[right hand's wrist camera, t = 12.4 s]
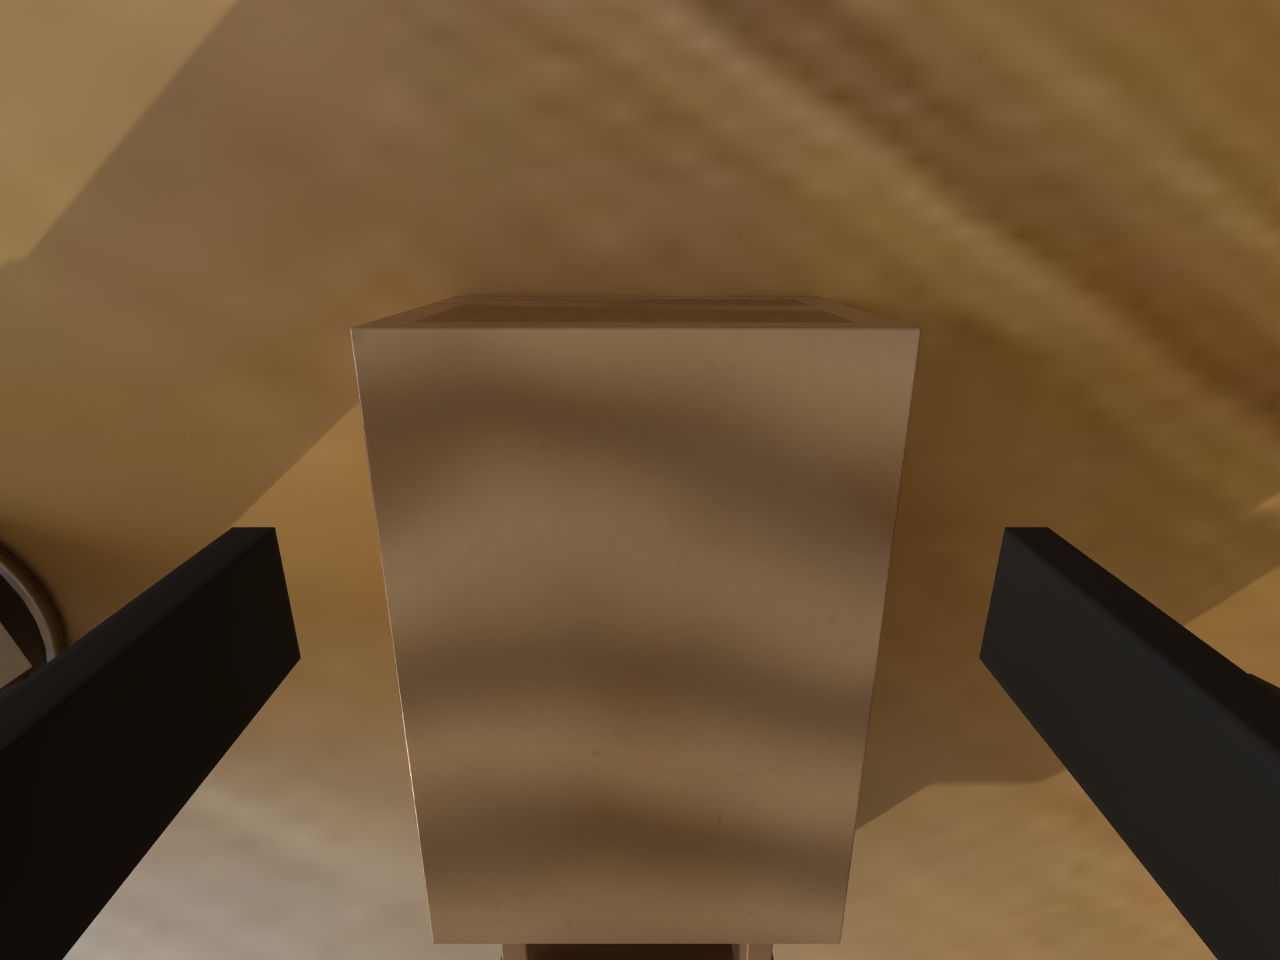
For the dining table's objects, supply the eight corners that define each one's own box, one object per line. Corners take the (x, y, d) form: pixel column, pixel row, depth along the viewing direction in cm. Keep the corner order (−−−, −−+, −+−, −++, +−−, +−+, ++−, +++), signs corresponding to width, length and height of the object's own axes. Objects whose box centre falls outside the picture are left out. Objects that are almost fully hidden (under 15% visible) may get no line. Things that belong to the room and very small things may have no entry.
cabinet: (783, 743, 27) (840, 944, 19) (491, 743, 27) (432, 944, 19) (820, 296, 21) (922, 327, 14) (453, 296, 21) (348, 327, 14)
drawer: (752, 1014, 30) (778, 1196, 25) (522, 1014, 30) (495, 1196, 25) (786, 578, 23) (835, 689, 18) (487, 578, 23) (437, 689, 18)
